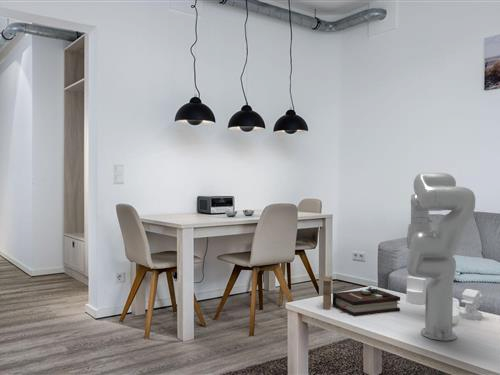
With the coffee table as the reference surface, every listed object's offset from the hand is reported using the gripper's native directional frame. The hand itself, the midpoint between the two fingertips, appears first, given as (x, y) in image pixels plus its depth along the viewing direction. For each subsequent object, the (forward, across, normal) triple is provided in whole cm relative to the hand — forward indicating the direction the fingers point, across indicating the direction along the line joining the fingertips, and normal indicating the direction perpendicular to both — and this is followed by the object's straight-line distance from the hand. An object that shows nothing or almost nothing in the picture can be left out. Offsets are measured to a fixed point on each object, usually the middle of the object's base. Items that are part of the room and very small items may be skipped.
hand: (419, 262), depth 198 cm
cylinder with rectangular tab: (+23, -2, -21) cm, 31 cm away
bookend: (+23, +40, -2) cm, 47 cm away
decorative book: (+24, +23, -2) cm, 33 cm away
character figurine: (+23, -22, -1) cm, 32 cm away
